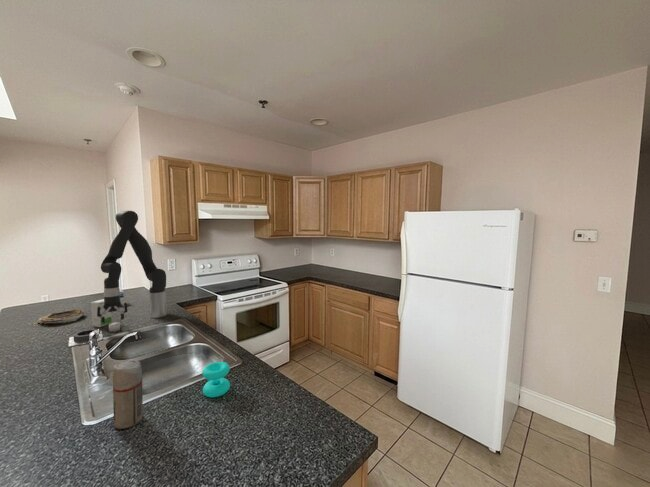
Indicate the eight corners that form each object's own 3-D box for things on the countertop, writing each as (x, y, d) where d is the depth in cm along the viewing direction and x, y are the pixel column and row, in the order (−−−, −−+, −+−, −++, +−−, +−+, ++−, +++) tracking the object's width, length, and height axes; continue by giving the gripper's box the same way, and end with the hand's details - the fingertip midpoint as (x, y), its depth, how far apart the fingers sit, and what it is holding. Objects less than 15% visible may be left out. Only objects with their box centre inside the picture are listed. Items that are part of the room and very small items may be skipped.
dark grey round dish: (101, 331, 162) (101, 325, 161) (103, 339, 151) (102, 333, 151) (69, 338, 152) (69, 332, 152) (68, 347, 142) (68, 340, 142)
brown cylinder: (124, 412, 95) (121, 357, 93) (149, 411, 95) (146, 357, 94) (107, 431, 86) (103, 371, 85) (134, 430, 87) (130, 370, 85)
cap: (119, 327, 168) (119, 321, 168) (120, 330, 164) (120, 323, 164) (108, 330, 164) (108, 323, 164) (109, 332, 160) (108, 326, 160)
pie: (89, 310, 199) (89, 304, 199) (93, 321, 180) (92, 314, 179) (34, 320, 180) (33, 313, 179) (31, 333, 160) (30, 325, 160)
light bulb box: (125, 304, 213) (124, 290, 212) (115, 306, 208) (114, 292, 207) (119, 302, 219) (118, 288, 218) (109, 304, 213) (108, 290, 212)
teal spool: (218, 357, 113) (235, 364, 108) (219, 380, 114) (235, 388, 109) (196, 368, 105) (212, 376, 99) (197, 393, 106) (213, 402, 100)
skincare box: (100, 327, 168) (98, 302, 167) (91, 326, 169) (89, 302, 168) (113, 322, 176) (111, 299, 175) (104, 321, 177) (103, 298, 176)
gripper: (126, 291, 170) (126, 317, 171) (96, 295, 160) (97, 322, 161) (127, 294, 164) (128, 320, 165) (96, 298, 155) (97, 325, 156)
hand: (112, 321), depth 163 cm, fingers open, 8 cm apart
